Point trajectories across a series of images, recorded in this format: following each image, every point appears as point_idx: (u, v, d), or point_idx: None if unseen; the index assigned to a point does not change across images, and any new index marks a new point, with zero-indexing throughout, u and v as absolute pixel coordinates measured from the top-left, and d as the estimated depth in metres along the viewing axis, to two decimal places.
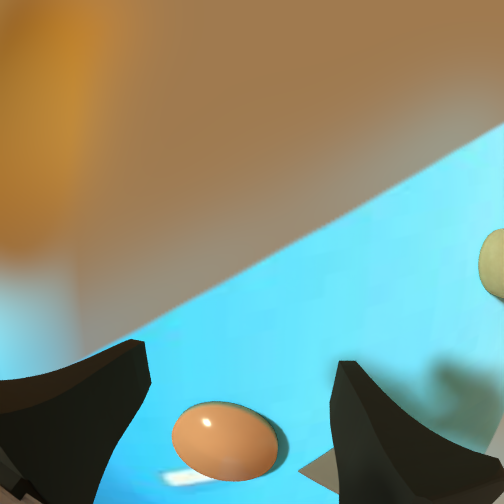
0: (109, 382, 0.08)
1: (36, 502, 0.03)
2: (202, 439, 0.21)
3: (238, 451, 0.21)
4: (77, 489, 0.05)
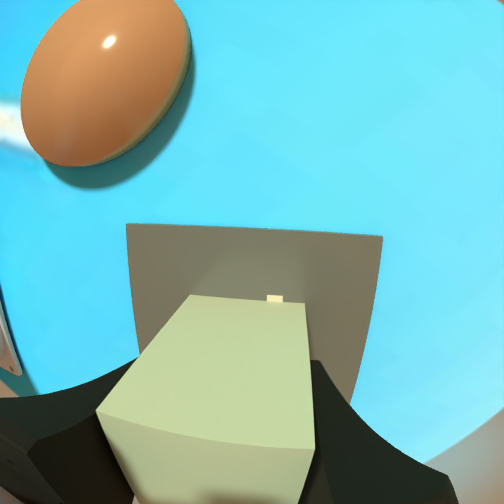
0: None
1: None
2: (83, 33, 0.09)
3: (98, 81, 0.09)
4: None
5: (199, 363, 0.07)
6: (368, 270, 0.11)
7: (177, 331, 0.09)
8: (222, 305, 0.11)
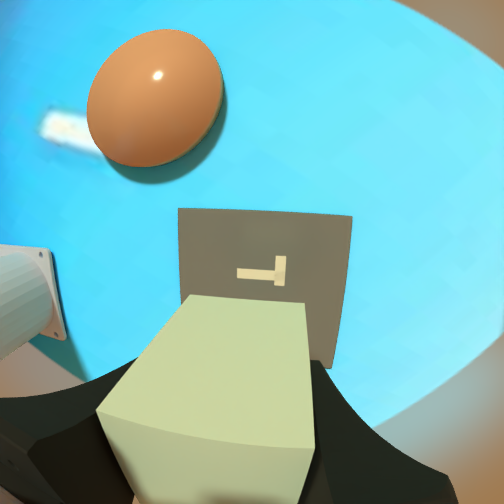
0: None
1: None
2: (140, 67, 0.15)
3: (157, 107, 0.15)
4: None
5: (198, 363, 0.07)
6: (343, 239, 0.16)
7: (177, 331, 0.09)
8: (222, 305, 0.11)
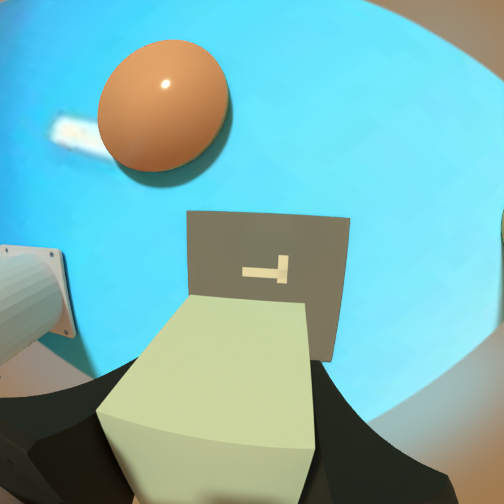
0: None
1: None
2: (150, 76, 0.16)
3: (167, 115, 0.16)
4: None
5: (199, 363, 0.07)
6: (341, 239, 0.18)
7: (177, 331, 0.09)
8: (222, 305, 0.11)
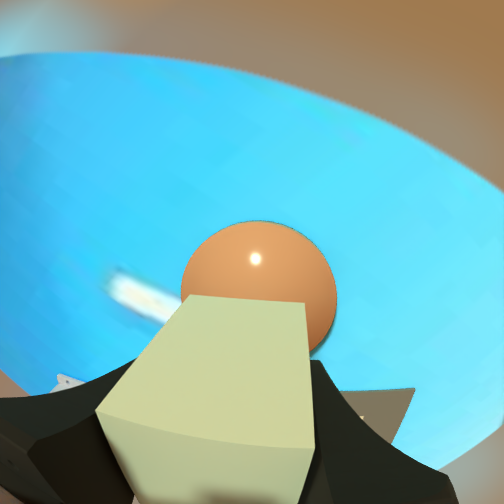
0: None
1: None
2: (248, 271, 0.16)
3: None
4: None
5: (199, 363, 0.07)
6: (405, 402, 0.18)
7: (177, 331, 0.09)
8: (222, 305, 0.11)
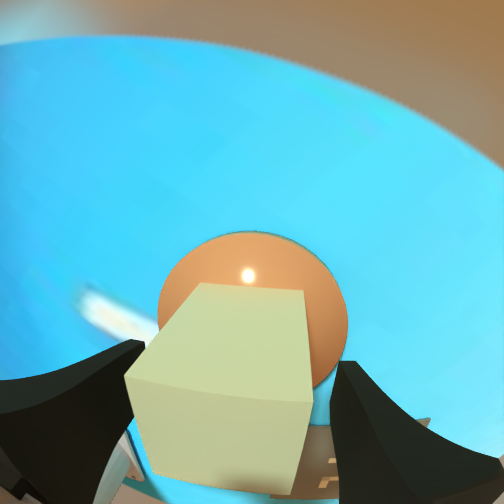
0: (109, 382, 0.08)
1: (36, 502, 0.03)
2: None
3: None
4: (77, 489, 0.05)
5: (212, 337, 0.09)
6: None
7: (191, 312, 0.10)
8: (230, 291, 0.12)
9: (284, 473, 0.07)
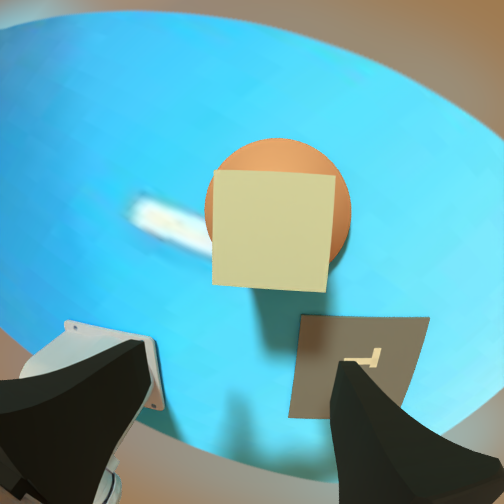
0: (109, 382, 0.08)
1: (36, 502, 0.03)
2: None
3: None
4: (77, 489, 0.05)
5: None
6: (421, 333, 0.20)
7: None
8: None
9: (321, 256, 0.11)
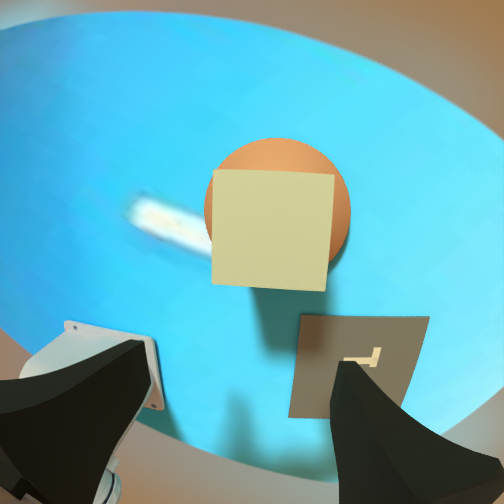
0: (109, 382, 0.08)
1: (36, 502, 0.03)
2: None
3: None
4: (77, 489, 0.05)
5: None
6: (421, 333, 0.20)
7: None
8: None
9: (320, 255, 0.11)
